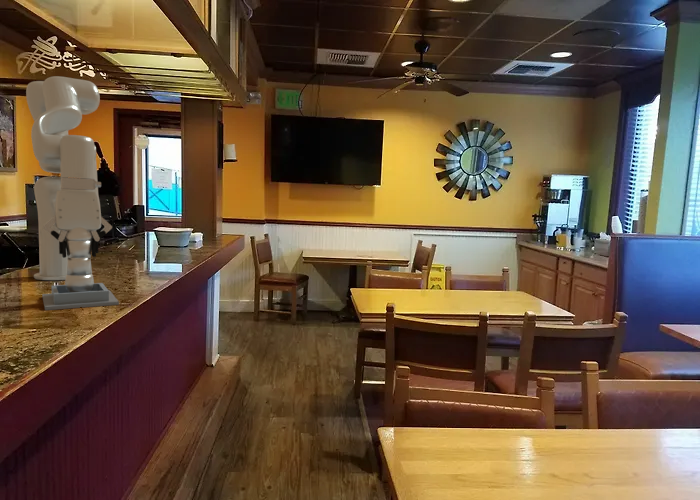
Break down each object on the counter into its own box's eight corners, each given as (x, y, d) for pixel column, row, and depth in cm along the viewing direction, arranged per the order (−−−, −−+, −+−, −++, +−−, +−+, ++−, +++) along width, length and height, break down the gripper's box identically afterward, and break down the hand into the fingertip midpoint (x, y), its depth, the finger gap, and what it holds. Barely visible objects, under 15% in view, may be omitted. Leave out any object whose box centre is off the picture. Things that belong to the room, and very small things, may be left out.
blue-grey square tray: (42, 297, 132) (42, 284, 132) (109, 292, 141) (109, 281, 140) (45, 310, 119) (44, 296, 118) (118, 304, 127) (118, 291, 127)
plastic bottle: (99, 291, 133) (98, 215, 130) (83, 296, 126) (82, 216, 124) (76, 289, 133) (75, 213, 131) (59, 294, 127) (57, 214, 124)
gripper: (113, 186, 134) (113, 253, 136) (37, 183, 125) (39, 255, 127) (117, 187, 128) (118, 257, 130) (38, 184, 119) (40, 259, 121)
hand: (79, 255), depth 129 cm, fingers closed on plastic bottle, 6 cm apart
